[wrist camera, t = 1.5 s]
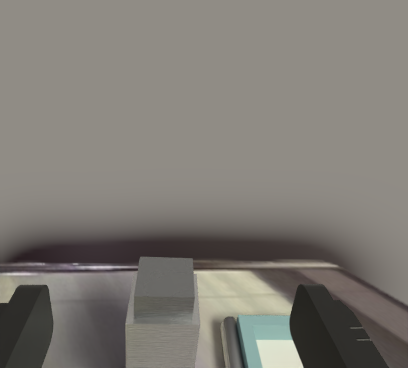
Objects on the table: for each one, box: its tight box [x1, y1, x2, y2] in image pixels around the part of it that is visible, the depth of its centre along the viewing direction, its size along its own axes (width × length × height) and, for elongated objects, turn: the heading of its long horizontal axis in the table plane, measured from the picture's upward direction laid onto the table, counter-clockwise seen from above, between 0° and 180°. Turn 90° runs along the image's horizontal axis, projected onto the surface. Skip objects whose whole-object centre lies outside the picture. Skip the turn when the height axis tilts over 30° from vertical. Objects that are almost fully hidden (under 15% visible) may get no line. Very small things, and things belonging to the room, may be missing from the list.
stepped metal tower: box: [125, 257, 200, 368], centre depth 27 cm, size 5×5×12 cm
